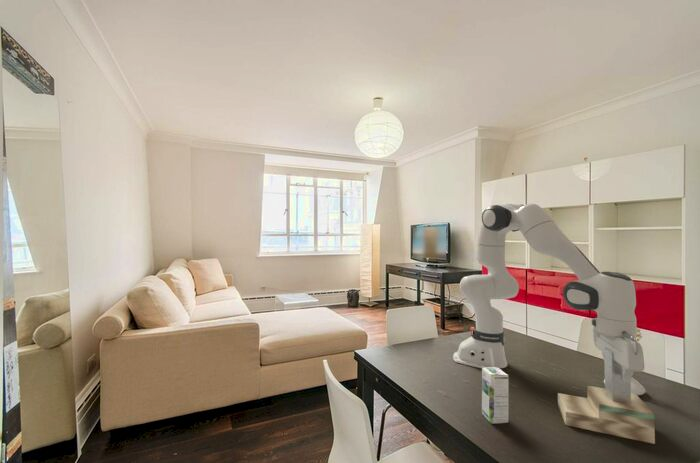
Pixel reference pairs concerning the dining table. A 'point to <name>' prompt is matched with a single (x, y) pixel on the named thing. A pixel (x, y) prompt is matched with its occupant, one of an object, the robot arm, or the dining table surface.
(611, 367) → the grey column
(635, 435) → the step stand
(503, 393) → the syrup box
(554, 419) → the dining table surface
